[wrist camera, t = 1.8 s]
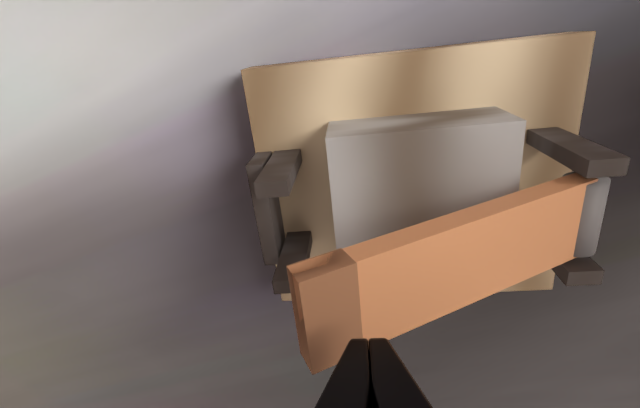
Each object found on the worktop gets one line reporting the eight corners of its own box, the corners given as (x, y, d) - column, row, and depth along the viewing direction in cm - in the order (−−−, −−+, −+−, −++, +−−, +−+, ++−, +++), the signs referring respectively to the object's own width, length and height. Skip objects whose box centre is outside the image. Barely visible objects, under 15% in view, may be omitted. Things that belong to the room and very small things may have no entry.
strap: (579, 166, 14) (621, 176, 13) (567, 237, 15) (604, 252, 14) (283, 261, 10) (302, 288, 9) (297, 347, 11) (316, 381, 10)
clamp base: (568, 31, 16) (695, 27, 10) (534, 267, 21) (608, 358, 15) (251, 66, 18) (203, 80, 12) (287, 279, 22) (265, 366, 16)
